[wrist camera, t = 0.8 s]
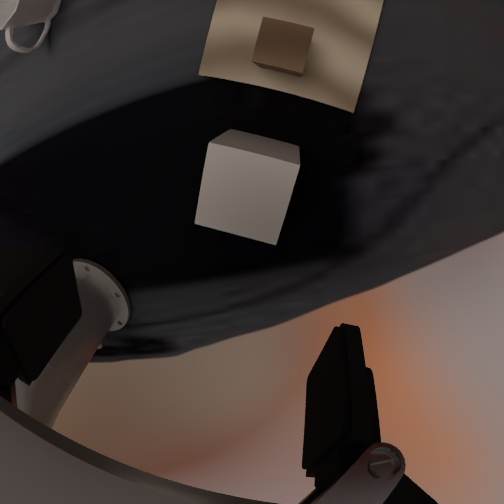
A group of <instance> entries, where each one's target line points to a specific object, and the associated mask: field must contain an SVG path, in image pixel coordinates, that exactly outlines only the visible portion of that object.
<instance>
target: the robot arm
mask: <svg viewBox="0 0 504 504" xmlns="http://www.w3.org/2000/svg"><path fill="white" fill-rule="evenodd" d="M130 313H131V306H130V302H129V298H128V296H127V294H126V292H125V290H124V288H123V287H122V285H121V284H120V283H119V281H118V280H117V279H116V278H115V277H114V276H113V275H112V274H111V273H110V272H109V271H108V270H106V269H105V268H104V267H102V266H101V265H99V264H97V263H95V262H93V261H90V260H87V259H72V257H71V256H70V253H69V252H68V251H67V250H64V249H61V248H58V247H54V248H52V249H51V250H50V251H49V252H48V253H46V254H45V255H44V256H43V257H42V258H41V259H40V260H39V261H37V262H36V263H35V264H34V265H33V266H32V267H31V268H30V269H29V270H28V271H27V272H25V273H24V274H23V275H22V276H21V277H20V278H19V279H18V280H17V281H16V282H15V283H14V284H13V285H12V286H11V287H10V288H9V289H8V290H7V291H6V292H5V293H4V294H3V295H2V296H1V297H0V504H277V503H270V502H263V501H257V500H250V499H245V498H239V497H235V496H230V495H225V494H221V493H216V492H212V491H207V490H203V489H199V488H195V487H192V486H188V485H184V484H181V483H177V482H174V481H171V480H168V479H165V478H161V477H158V476H155V475H152V474H150V473H147V472H144V471H141V470H138V469H136V468H133V467H131V466H128V465H125V464H123V463H120V462H118V461H116V460H113V459H111V458H109V457H106V456H104V455H102V454H100V453H97V452H95V451H93V450H91V449H88V448H87V447H85V446H83V445H81V444H78V443H77V442H75V441H73V440H71V439H69V438H67V437H65V436H63V435H61V434H60V433H57V432H56V431H54V430H52V427H53V424H54V422H55V420H56V418H57V416H58V414H59V412H60V410H61V408H62V407H63V405H64V403H65V401H66V400H67V398H68V396H69V394H70V393H71V391H72V389H73V388H74V386H75V384H76V383H77V381H78V379H79V377H80V376H81V374H82V372H83V371H84V369H85V368H86V366H87V364H88V363H89V361H90V359H91V358H92V356H93V355H94V353H95V351H96V350H97V349H100V348H102V346H103V344H102V340H103V339H104V337H105V336H106V334H107V333H108V331H116V330H119V329H121V328H122V327H124V325H125V324H126V323H127V321H128V319H129V317H130ZM302 468H303V469H307V470H306V477H315V487H316V488H315V489H314V490H313V491H312V492H311V493H310V494H309V495H308V496H306V497H305V498H304V499H303V500H302V501H301V502H300V503H299V504H438V503H437V502H436V501H435V500H434V499H433V498H431V497H430V496H429V495H428V494H427V493H425V492H424V491H423V490H422V489H421V488H420V487H419V486H418V485H417V484H415V483H414V482H413V481H412V480H411V479H410V478H409V477H408V476H406V475H405V474H404V472H405V459H404V457H403V455H402V453H401V452H400V450H399V449H398V448H396V447H395V446H393V445H391V444H388V443H381V436H380V426H379V417H378V409H377V400H376V392H375V385H374V378H373V373H372V370H371V369H370V368H368V367H366V366H365V358H364V352H363V345H362V338H361V332H360V328H359V327H358V326H354V325H349V324H344V323H342V324H341V325H340V327H334V329H333V331H332V333H331V334H330V336H329V339H328V340H327V342H326V344H325V346H324V348H323V350H322V352H321V353H320V355H319V357H318V359H317V361H316V363H315V364H314V366H313V368H312V370H311V372H310V374H309V376H308V379H307V387H306V409H305V428H304V443H303V458H302Z"/></svg>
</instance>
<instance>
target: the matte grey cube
mask: <svg viewBox="0 0 504 504" xmlns="http://www.w3.org/2000/svg"><path fill="white" fill-rule="evenodd" d="M299 168H300V155H299V146H296V145H293V144H289V143H286V142H282V141H278V140H274V139H271V138H267V137H263V136H259V135H255V134H250V133H246V132H242V131H238V130H233V129H230V130H228V131H226V132H225V133H223V134H222V135H220V136H218V137H217V138H215V139H214V140H212V141H210V142H209V145H208V150H207V155H206V160H205V166H204V171H203V177H202V182H201V188H200V194H199V200H198V206H197V212H196V218H195V224H198V225H202V226H206V227H210V228H213V229H217V230H221V231H225V232H229V233H232V234H236V235H240V236H244V237H247V238H251V239H255V240H258V241H262V242H266V243H270V244H273V245H276V244H277V240H278V237H279V234H280V231H281V227H282V224H283V221H284V218H285V214H286V211H287V208H288V204H289V201H290V198H291V194H292V191H293V188H294V184H295V181H296V178H297V174H298V171H299Z"/></svg>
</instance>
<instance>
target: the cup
mask: <svg viewBox="0 0 504 504" xmlns="http://www.w3.org/2000/svg"><path fill="white" fill-rule="evenodd" d="M60 3H61V0H0V30H3V29H6V33H5V35H6V42H7V44H8V46H9V47H10V48H11V49H12V50H13V51H17V52H20V53H28V52H31V51H33V50H35V49H37V48H38V47H39V46H40V45H41V43H42V42H43V40H44V38H45V36H46V35H47V33H48V30H49V28H50V25H51V19H52V18H53V17H54V16H55V15H56V14H57V13H58V9H59V6H60ZM43 22H45V27H44V30H43V33H42V35H41V37H40V38H39V40H38V42H37V44H36V45H35V46H34V47H33V48H24V47H21V46H18V45H17V44H16V43H15V42H14V41H13V38H12V34H13V28H14V27H20V26H27V25H32V24H36V23H43Z"/></svg>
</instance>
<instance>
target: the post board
mask: <svg viewBox="0 0 504 504" xmlns="http://www.w3.org/2000/svg"><path fill="white" fill-rule="evenodd" d="M382 5H383V0H217V3H216V7H215V10H214V14H213V18H212V21H211V25H210V29H209V33H208V37H207V41H206V45H205V49H204V53H203V57H202V62H201V66H200V70H199V75H203V76H210V77H216V78H222V79H227V80H233V81H238V82H243V83H248V84H253V85H257V86H262V87H266V88H270V89H275V90H279V91H283V92H286V93H290V94H294V95H298V96H301V97H305V98H308V99H312V100H315V101H319V102H322V103H325V104H328V105H331V106H335V107H338V108H341V109H344V110H347V111H349V112H352V113H354V109H355V106H356V103H357V99H358V96H359V92H360V89H361V85H362V82H363V78H364V75H365V71H366V67H367V64H368V60H369V56H370V53H371V49H372V45H373V41H374V37H375V33H376V29H377V25H378V21H379V17H380V13H381V9H382Z"/></svg>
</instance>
